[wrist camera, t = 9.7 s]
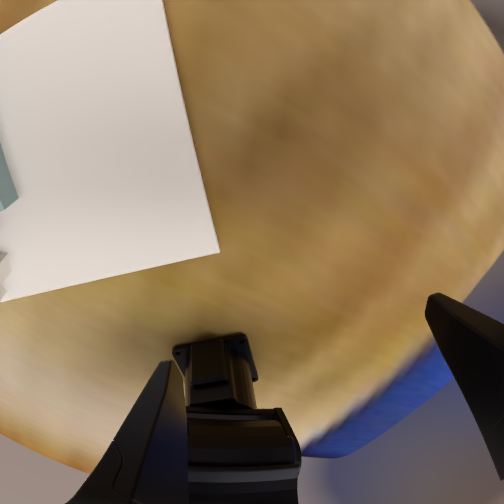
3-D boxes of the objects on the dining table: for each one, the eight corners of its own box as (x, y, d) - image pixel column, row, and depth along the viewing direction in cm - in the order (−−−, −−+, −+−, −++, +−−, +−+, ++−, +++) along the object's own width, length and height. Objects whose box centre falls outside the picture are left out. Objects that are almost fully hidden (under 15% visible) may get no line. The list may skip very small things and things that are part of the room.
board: (219, 246, 21) (219, 252, 21) (-17, 302, 21) (-21, 307, 20) (157, -32, 12) (154, -37, 11) (-88, 116, 11) (-94, 118, 10)
